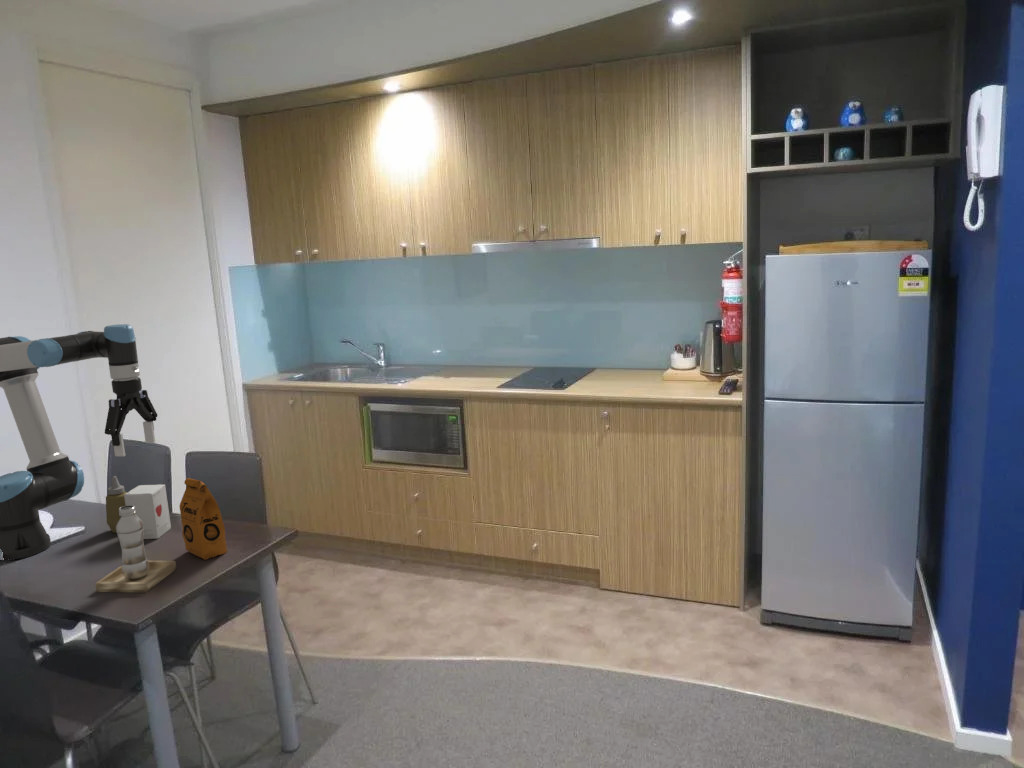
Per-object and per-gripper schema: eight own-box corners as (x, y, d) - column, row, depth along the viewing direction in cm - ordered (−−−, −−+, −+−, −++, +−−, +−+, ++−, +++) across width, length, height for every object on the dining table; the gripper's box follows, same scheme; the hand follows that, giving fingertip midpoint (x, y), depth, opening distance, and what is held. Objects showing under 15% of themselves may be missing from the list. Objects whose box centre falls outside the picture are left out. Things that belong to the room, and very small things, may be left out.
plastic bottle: (124, 574, 199) (113, 505, 195) (151, 569, 202) (141, 501, 198) (121, 584, 193) (110, 513, 189) (150, 579, 196) (139, 509, 192)
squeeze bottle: (110, 527, 236) (102, 475, 233) (138, 523, 239) (130, 471, 236) (106, 536, 229) (97, 482, 225) (134, 532, 232) (126, 478, 228)
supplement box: (158, 539, 225) (151, 493, 222) (129, 540, 225) (122, 494, 222) (172, 527, 234) (166, 483, 231) (145, 528, 234) (138, 484, 231)
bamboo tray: (96, 591, 192) (95, 583, 191) (130, 568, 205) (128, 560, 205) (145, 592, 190) (144, 584, 189) (176, 568, 203) (175, 560, 203)
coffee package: (198, 563, 206) (188, 490, 202) (181, 552, 215) (171, 481, 210) (232, 552, 213) (223, 480, 209) (214, 541, 222) (205, 472, 217)
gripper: (107, 387, 197) (118, 462, 201) (164, 370, 221) (173, 437, 225) (82, 387, 198) (94, 461, 202) (141, 370, 222) (151, 437, 226)
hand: (135, 449), depth 214 cm, fingers open, 13 cm apart
